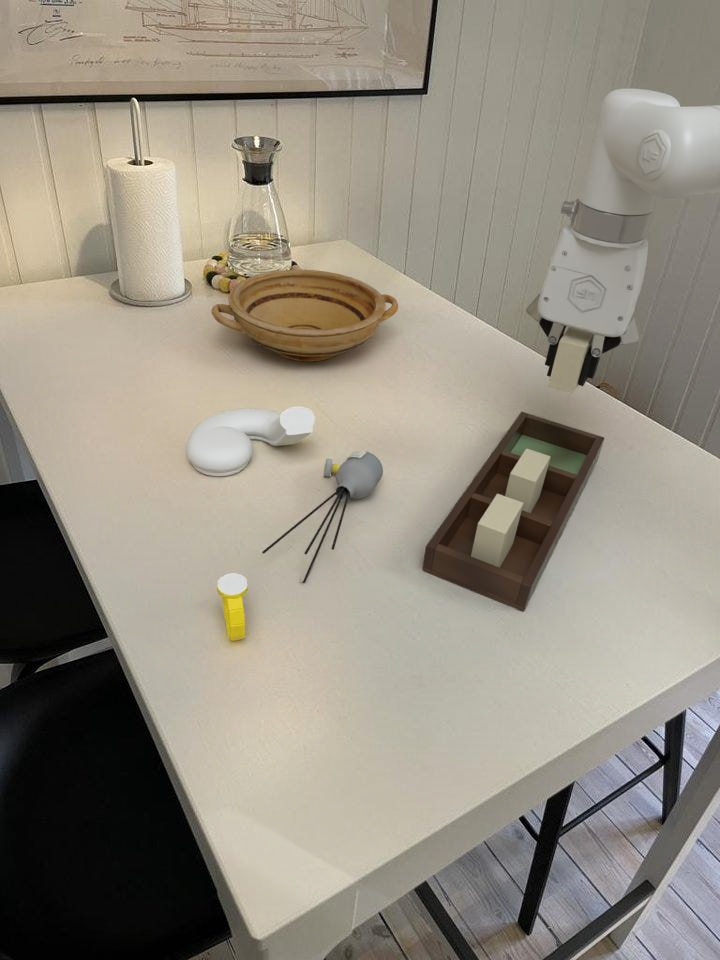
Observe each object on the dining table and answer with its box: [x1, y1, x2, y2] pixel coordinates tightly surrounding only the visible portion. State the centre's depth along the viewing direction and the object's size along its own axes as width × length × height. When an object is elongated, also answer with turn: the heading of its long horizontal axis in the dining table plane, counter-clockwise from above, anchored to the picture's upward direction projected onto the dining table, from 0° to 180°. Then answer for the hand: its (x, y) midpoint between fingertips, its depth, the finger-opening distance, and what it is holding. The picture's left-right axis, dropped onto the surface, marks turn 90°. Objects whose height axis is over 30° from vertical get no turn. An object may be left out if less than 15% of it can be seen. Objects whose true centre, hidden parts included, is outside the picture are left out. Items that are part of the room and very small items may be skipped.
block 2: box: [505, 449, 550, 513], centre depth 88 cm, size 3×6×6 cm, turn 152°
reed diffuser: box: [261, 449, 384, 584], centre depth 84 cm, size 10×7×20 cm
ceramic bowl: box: [211, 269, 399, 362], centre depth 118 cm, size 30×24×8 cm
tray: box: [422, 411, 606, 612], centre depth 89 cm, size 11×32×4 cm, turn 152°
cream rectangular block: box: [547, 326, 594, 394], centre depth 88 cm, size 3×6×6 cm, turn 152°
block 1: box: [471, 494, 523, 567], centre depth 80 cm, size 3×6×6 cm, turn 152°
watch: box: [216, 572, 249, 642], centre depth 70 cm, size 6×3×6 cm, turn 16°
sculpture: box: [186, 405, 316, 477], centre depth 93 cm, size 12×15×8 cm
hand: (568, 375), depth 90 cm, fingers closed on cream rectangular block, 3 cm apart
